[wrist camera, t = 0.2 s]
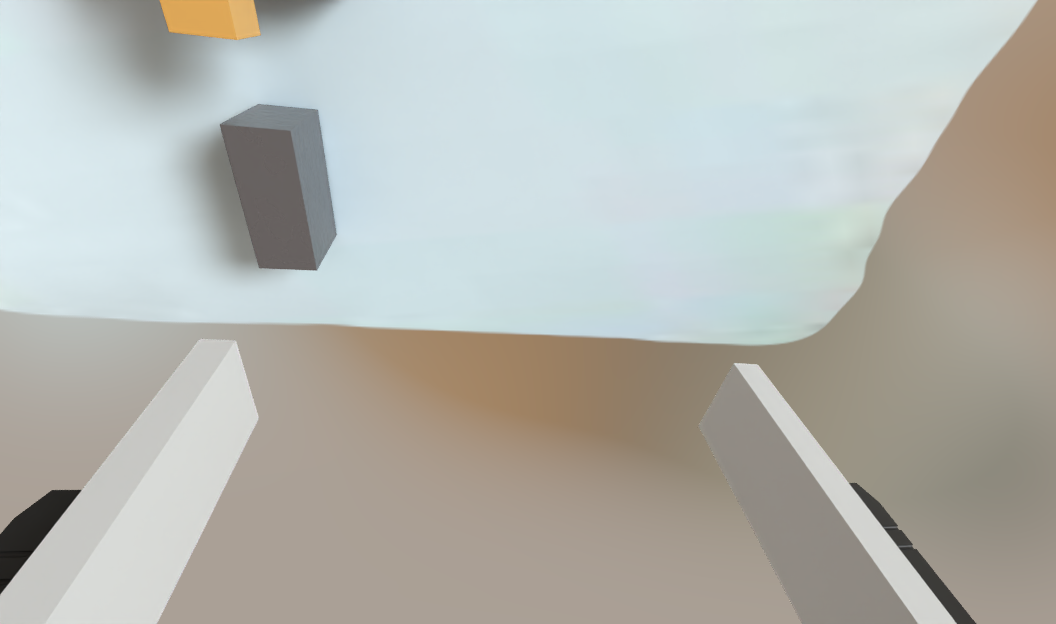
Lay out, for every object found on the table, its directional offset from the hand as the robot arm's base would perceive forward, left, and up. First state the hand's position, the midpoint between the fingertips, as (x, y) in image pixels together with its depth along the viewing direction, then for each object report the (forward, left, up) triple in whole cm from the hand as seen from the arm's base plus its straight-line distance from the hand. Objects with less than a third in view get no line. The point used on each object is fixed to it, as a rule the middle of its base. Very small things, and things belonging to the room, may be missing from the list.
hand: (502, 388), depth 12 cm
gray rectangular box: (+4, -14, -27) cm, 31 cm away
